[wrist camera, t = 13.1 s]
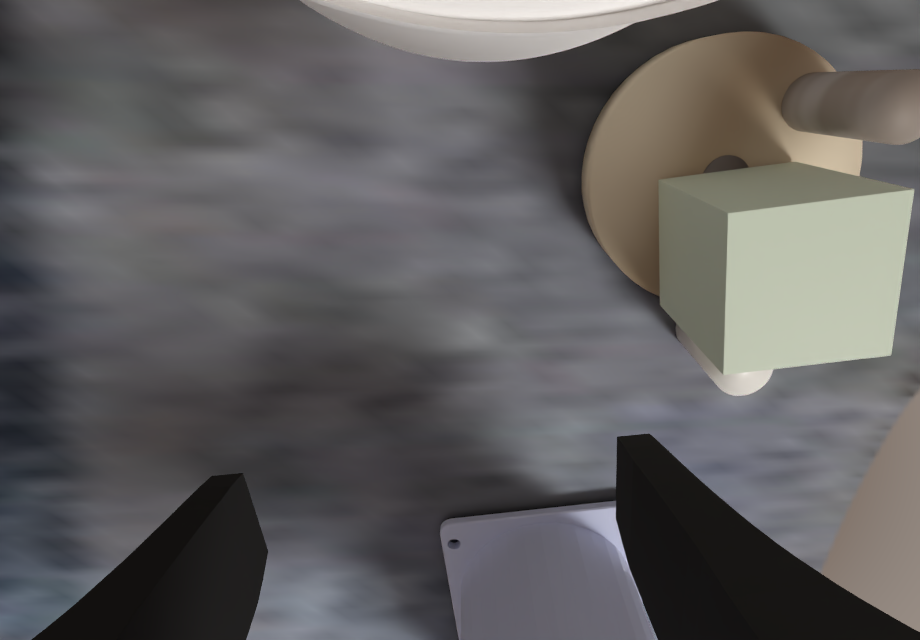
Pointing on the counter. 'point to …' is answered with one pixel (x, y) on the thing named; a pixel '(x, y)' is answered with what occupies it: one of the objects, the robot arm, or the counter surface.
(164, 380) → the counter surface
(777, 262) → the link block
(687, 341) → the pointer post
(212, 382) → the counter surface
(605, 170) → the disc
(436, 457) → the counter surface
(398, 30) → the jar
